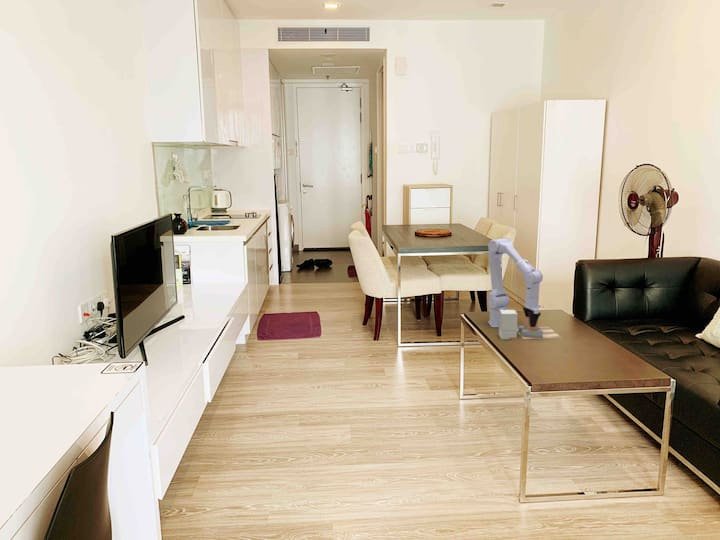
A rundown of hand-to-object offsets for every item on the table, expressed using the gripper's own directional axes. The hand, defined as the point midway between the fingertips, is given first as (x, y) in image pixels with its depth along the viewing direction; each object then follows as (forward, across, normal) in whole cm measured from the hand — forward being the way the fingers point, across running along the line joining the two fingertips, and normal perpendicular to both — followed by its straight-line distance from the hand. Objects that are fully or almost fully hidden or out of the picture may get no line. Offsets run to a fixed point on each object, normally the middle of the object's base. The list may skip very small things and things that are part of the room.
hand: (530, 324), depth 261 cm
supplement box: (+6, -1, +11) cm, 13 cm away
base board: (+6, +3, -4) cm, 8 cm away
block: (+2, 0, 0) cm, 2 cm away
